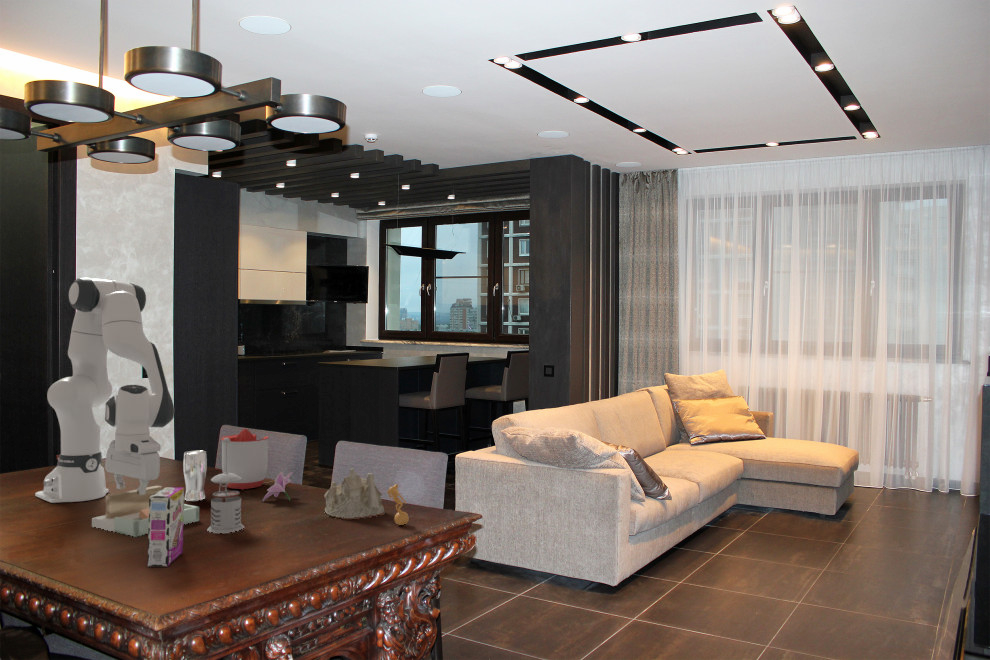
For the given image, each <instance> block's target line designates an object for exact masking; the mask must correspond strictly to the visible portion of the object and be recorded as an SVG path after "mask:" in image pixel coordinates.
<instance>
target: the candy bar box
mask: <svg viewBox="0 0 990 660" xmlns="http://www.w3.org/2000/svg"><path fill="white" fill-rule="evenodd" d="M184 504H185V487H183V486H182V487H181V486H180V487H179V486H177V487H175V486H169V487H168V486H167V487H163V488H162V490H160V491H159V492H157V493H155V494H153V495H152V496H150V497H149V531H148V534H147V535H148V537H147V538H148V539H147V567H149V568H151V567H152V568H154V567H156V568H160V567H161V568H165V567H169V566H170V565H171V564H172V563H173V562H175V561H176V559H177V558H178V557H179V556H181V555H182V554H183V552H184V525H183V518H184Z"/></svg>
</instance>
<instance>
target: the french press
mask: <svg viewBox="0 0 990 660" xmlns="http://www.w3.org/2000/svg"><path fill="white" fill-rule="evenodd" d="M223 442H224V443H226V472H225V473H223V472H222V473H219V474H217V475H214V476H213V477H211V479H210V481H211V482H212V483H214V484H219V486H218V491H215V492H213V493H212V496H213V498H211V499H210V506H211V507H210V525H209V527H208V528H207V530H206V532H208V531H209V532H208V533H211V532H213V533H212V534H220V533H222V534H231V533H230V532H232V533H236V532H235V531H237V532H240V531H239V530H241V529H242V530H244V529H245V526H244V525H243V523H242V497H241V496H239V495H240V494H241V493H240V491H238V490H227V489H228V487H227V485H228V483H235V482H239V481H241V479H242V478H241V477H240V476H238V475H236V474H233V473H228V472H227V442H230V439H229V438H224V440H223ZM223 484H225V485H223ZM221 487H222V488H224V490H221ZM223 500H224V502H223ZM243 528H244V529H243ZM242 530H241V531H242Z"/></svg>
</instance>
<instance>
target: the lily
mask: <svg viewBox="0 0 990 660" xmlns="http://www.w3.org/2000/svg"><path fill="white" fill-rule="evenodd" d="M293 473H294V470H292V471H291V472H289V473H287V475H286V476H285V475H284V473H283V472H282V471H280V472H279V473H278V474H277V476H276V478H275V480H274V484H273V485H270V487H269V488H268V489H267V490H266V491H267V493H266V494H265V495H264V496H263V499H262V501H263V502H264V501H266V500H267V499H268V498H269V497H271V496H272V495H273V496H274V498H275V497H277V498H278V496H279V494H280V493H282V492H283V493H284V494H285V495H286V496H287V499H288V501H290V500H291V498H290V496H289V495H288V493H287V492H286V490H285V489H286V485H287V484H289V483H290V482H291V478H290V476H291V475H293ZM262 501H261V502H262Z"/></svg>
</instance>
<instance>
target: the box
mask: <svg viewBox="0 0 990 660" xmlns="http://www.w3.org/2000/svg"><path fill="white" fill-rule="evenodd" d="M199 521H200V506H197V505H192V504H191V505H190V504H186V503H184V518H183V526H185V525H188V523H189V524H192V522H193V523H195V522H196V523H197V522H199ZM184 524H185V525H184ZM148 531H149V518H147V519H142V520H138V521H135V520H131V519H126V518H122V517H115V520H114V532H113V533H115V532H117V533H116V534H119V533H120V535H123V534H125V535H124V536H128V535H130V536H129V537H132V536H133V537H132V538H139V537H142V535H143V536H145V534H147V535H148ZM138 536H139V537H138Z"/></svg>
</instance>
